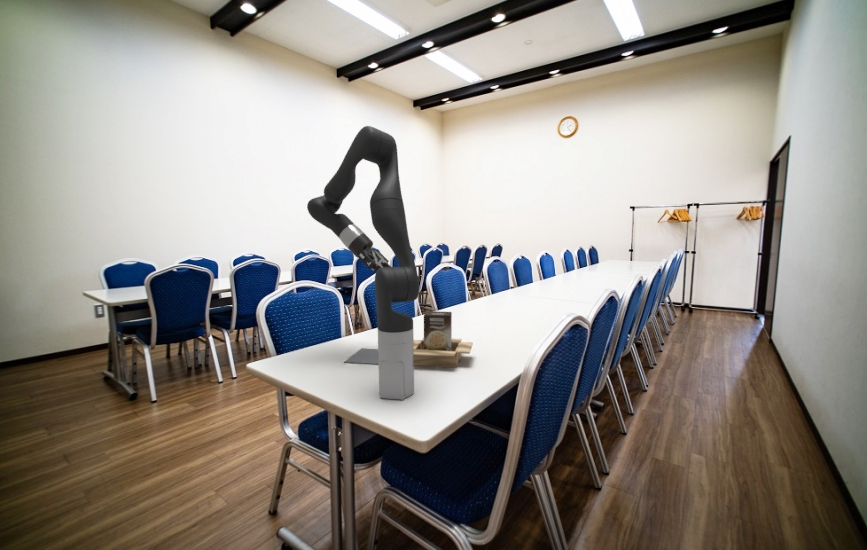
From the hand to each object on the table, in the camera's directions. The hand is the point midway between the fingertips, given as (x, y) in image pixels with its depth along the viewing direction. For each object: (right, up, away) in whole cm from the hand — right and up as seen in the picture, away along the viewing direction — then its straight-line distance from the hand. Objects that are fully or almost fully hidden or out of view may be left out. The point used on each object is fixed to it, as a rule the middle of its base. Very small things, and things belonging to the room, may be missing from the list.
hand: (389, 274), depth 123 cm
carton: (+16, -28, 0) cm, 33 cm away
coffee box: (+16, -29, 0) cm, 33 cm away
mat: (-6, -28, +4) cm, 29 cm away
